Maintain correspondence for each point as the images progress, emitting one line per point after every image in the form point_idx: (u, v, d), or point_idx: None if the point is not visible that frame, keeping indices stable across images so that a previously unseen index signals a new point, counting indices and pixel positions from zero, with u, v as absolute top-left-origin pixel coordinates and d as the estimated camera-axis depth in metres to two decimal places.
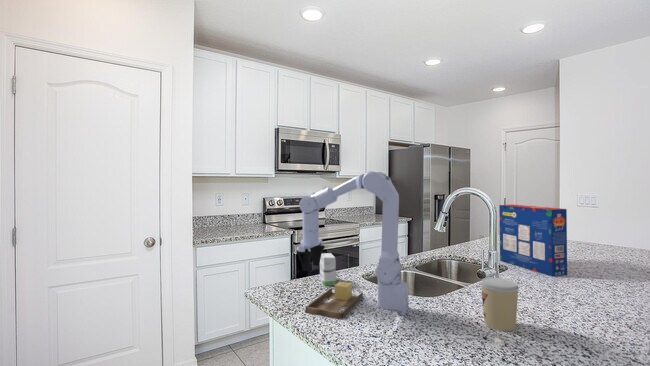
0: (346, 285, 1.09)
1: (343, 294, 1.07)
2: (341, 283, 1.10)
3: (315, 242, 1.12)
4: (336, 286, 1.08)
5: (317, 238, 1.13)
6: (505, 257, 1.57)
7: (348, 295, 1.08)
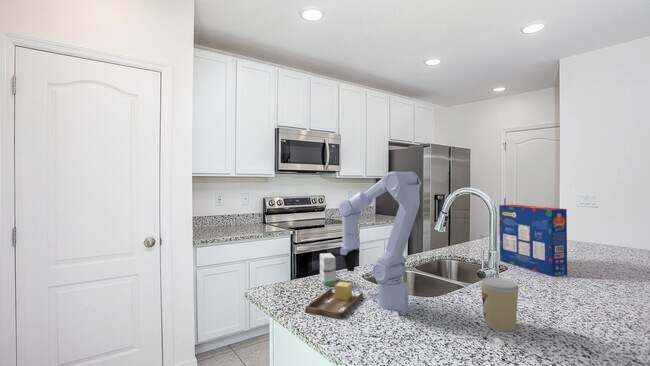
0: (346, 285, 1.09)
1: (343, 294, 1.07)
2: (341, 283, 1.10)
3: (355, 245, 1.14)
4: (336, 286, 1.08)
5: (357, 241, 1.15)
6: (505, 257, 1.57)
7: (348, 295, 1.08)
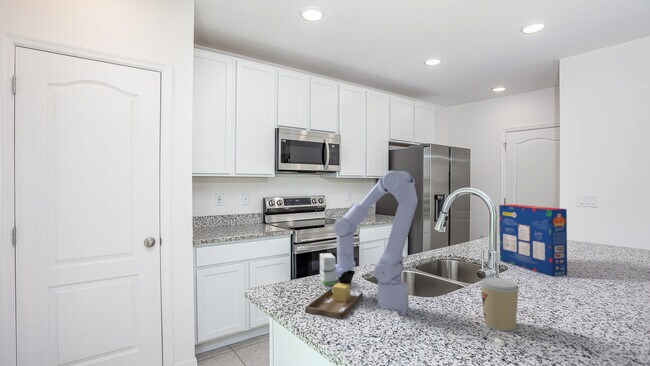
0: (344, 286, 1.07)
1: (341, 295, 1.06)
2: (339, 284, 1.09)
3: (350, 266, 1.09)
4: (334, 287, 1.07)
5: (352, 262, 1.10)
6: (505, 257, 1.57)
7: (346, 296, 1.07)
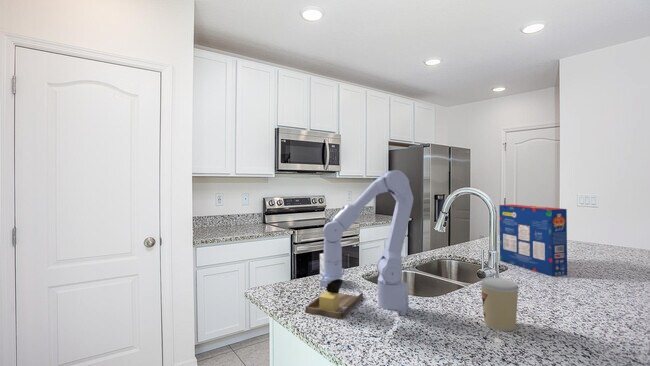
0: (332, 296, 0.98)
1: (329, 306, 0.97)
2: (327, 293, 1.00)
3: (338, 274, 1.00)
4: (321, 297, 0.98)
5: (340, 270, 1.00)
6: (505, 257, 1.57)
7: (334, 307, 0.98)
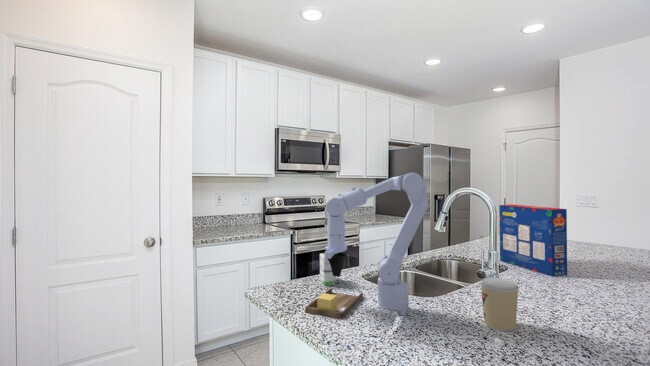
0: (330, 297, 0.97)
1: (327, 308, 0.96)
2: (325, 295, 0.99)
3: (342, 248, 1.03)
4: (319, 299, 0.97)
5: (343, 243, 1.04)
6: (505, 257, 1.57)
7: (332, 309, 0.96)
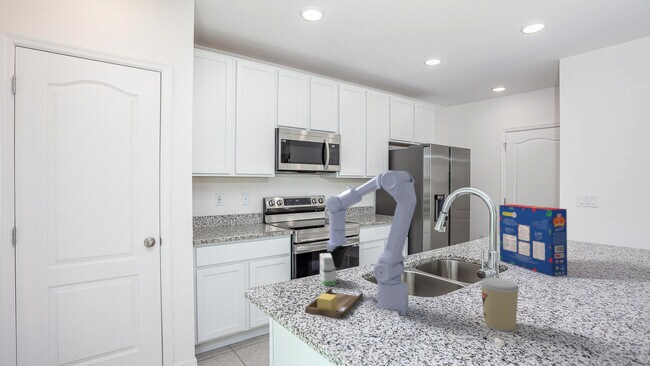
0: (330, 297, 0.97)
1: (327, 308, 0.96)
2: (325, 295, 0.99)
3: (342, 241, 1.13)
4: (319, 299, 0.97)
5: (344, 237, 1.14)
6: (505, 257, 1.57)
7: (332, 309, 0.96)
